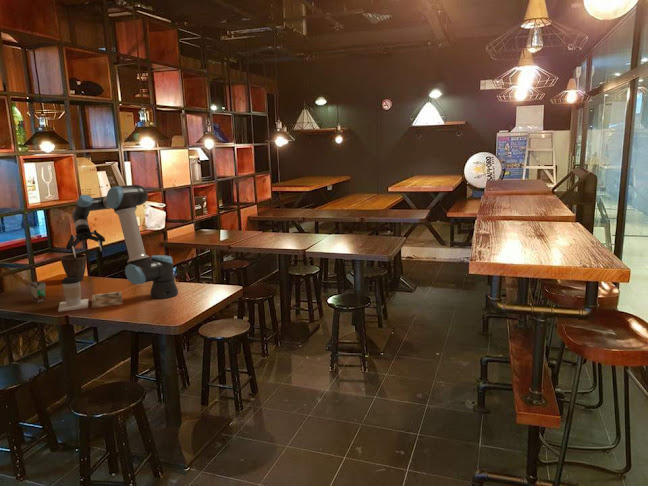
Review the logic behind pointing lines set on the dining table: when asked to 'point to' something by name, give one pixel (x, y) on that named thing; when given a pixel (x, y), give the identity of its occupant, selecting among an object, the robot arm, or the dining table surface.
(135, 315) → the dining table surface
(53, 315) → the dining table surface
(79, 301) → the coffee cup
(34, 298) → the food container
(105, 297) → the cup holder
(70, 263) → the plant pot
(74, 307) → the grey mat
